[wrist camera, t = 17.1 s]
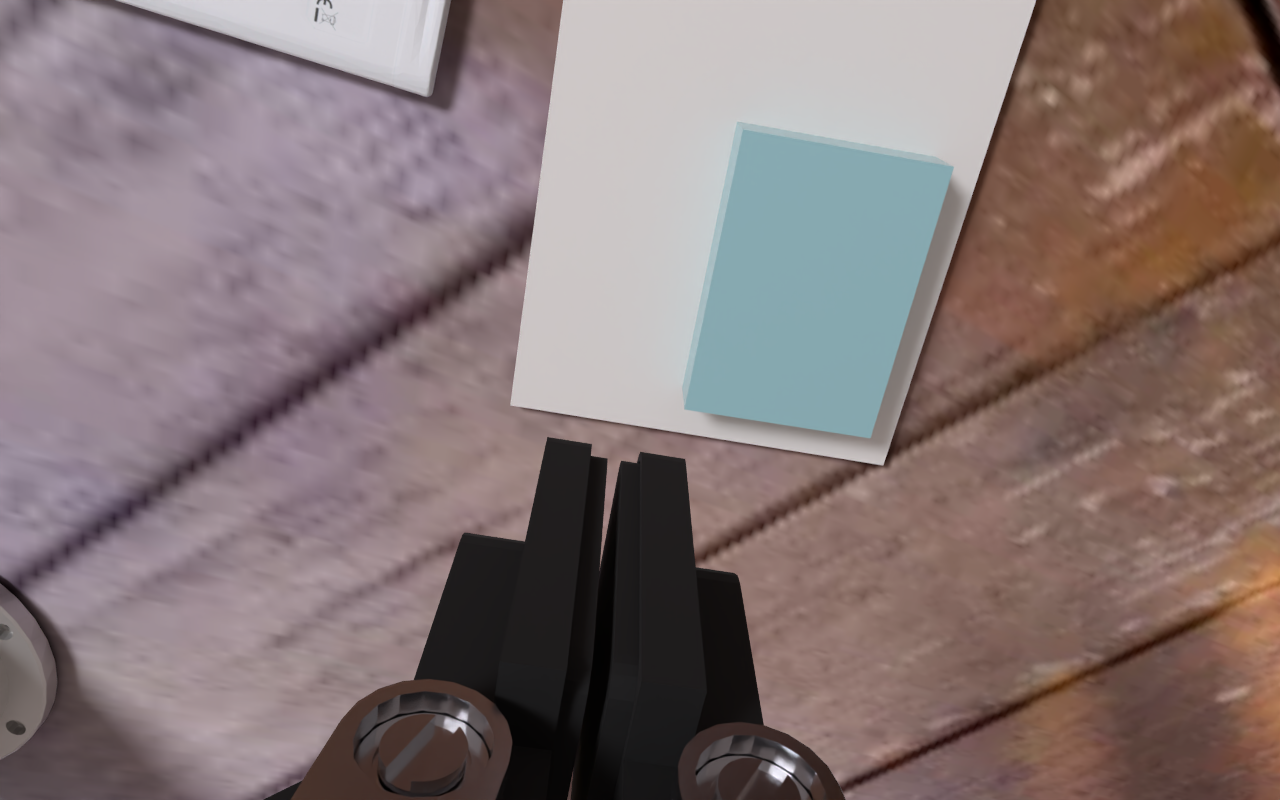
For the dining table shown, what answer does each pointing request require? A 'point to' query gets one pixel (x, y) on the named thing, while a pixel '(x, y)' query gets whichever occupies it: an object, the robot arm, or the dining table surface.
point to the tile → (810, 278)
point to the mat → (696, 169)
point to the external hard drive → (332, 32)
